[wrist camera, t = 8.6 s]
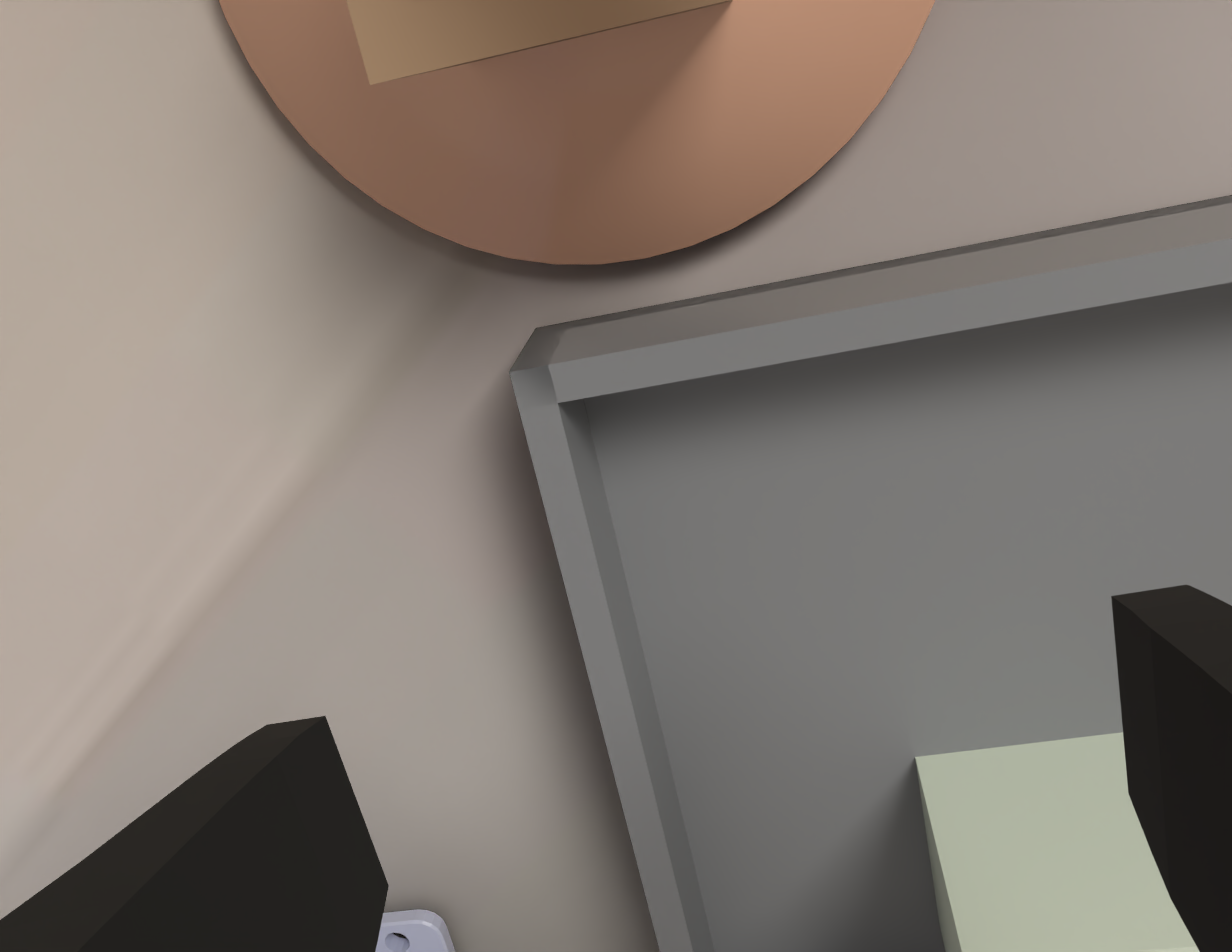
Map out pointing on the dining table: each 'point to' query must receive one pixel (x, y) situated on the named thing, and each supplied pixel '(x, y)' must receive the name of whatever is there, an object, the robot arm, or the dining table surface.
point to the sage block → (1043, 851)
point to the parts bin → (873, 546)
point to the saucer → (590, 120)
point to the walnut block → (484, 28)
